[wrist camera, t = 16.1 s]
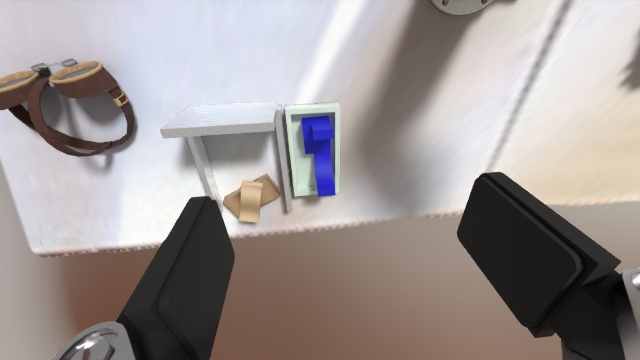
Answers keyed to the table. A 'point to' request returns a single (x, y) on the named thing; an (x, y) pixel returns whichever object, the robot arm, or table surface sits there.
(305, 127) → the cable clip
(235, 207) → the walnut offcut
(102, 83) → the goggles
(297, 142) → the sage tray
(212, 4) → the table surface
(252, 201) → the oak offcut
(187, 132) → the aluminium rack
